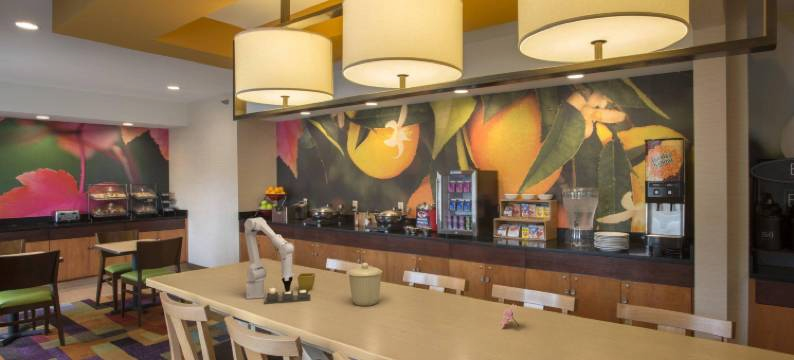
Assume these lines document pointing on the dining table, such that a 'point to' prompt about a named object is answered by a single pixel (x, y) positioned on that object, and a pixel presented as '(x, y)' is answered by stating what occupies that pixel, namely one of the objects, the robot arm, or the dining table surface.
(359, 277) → the canister
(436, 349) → the dining table surface
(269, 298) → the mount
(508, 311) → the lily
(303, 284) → the flower pot
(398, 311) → the dining table surface
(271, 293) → the knob near
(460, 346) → the dining table surface
